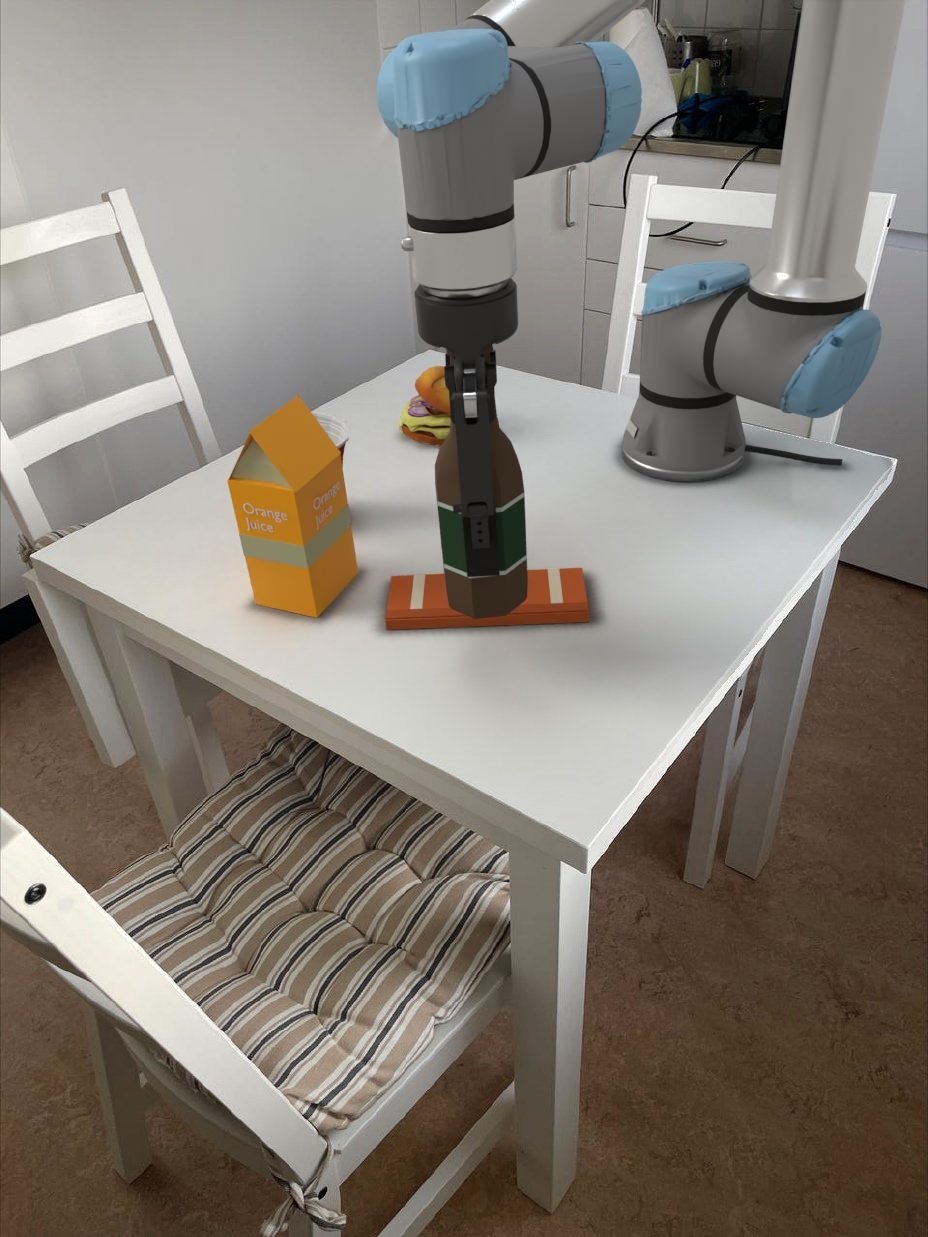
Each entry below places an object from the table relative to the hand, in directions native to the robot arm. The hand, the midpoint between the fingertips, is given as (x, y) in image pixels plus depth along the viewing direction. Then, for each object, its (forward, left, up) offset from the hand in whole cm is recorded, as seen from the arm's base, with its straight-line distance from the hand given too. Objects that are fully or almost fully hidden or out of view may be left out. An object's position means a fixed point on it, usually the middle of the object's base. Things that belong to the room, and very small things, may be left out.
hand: (483, 547), depth 82 cm
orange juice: (+19, -13, -12) cm, 26 cm away
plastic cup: (+20, -27, -12) cm, 36 cm away
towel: (0, -9, -12) cm, 15 cm away
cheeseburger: (+6, -50, -12) cm, 52 cm away
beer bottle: (0, 0, -5) cm, 5 cm away
